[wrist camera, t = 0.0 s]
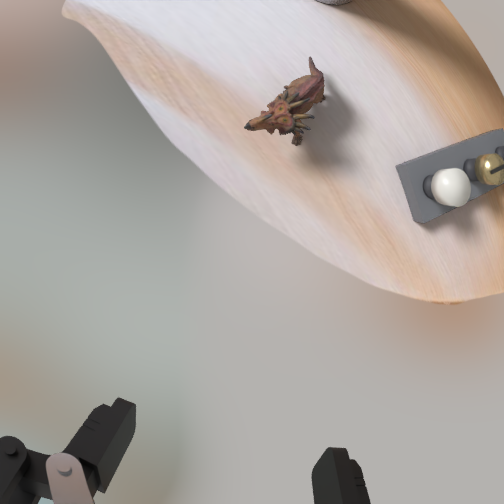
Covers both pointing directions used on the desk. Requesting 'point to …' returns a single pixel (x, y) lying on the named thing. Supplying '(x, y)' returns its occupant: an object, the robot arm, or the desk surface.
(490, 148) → the control strip
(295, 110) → the dinosaur figurine
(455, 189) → the cream knob
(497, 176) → the brass dial
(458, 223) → the desk surface
